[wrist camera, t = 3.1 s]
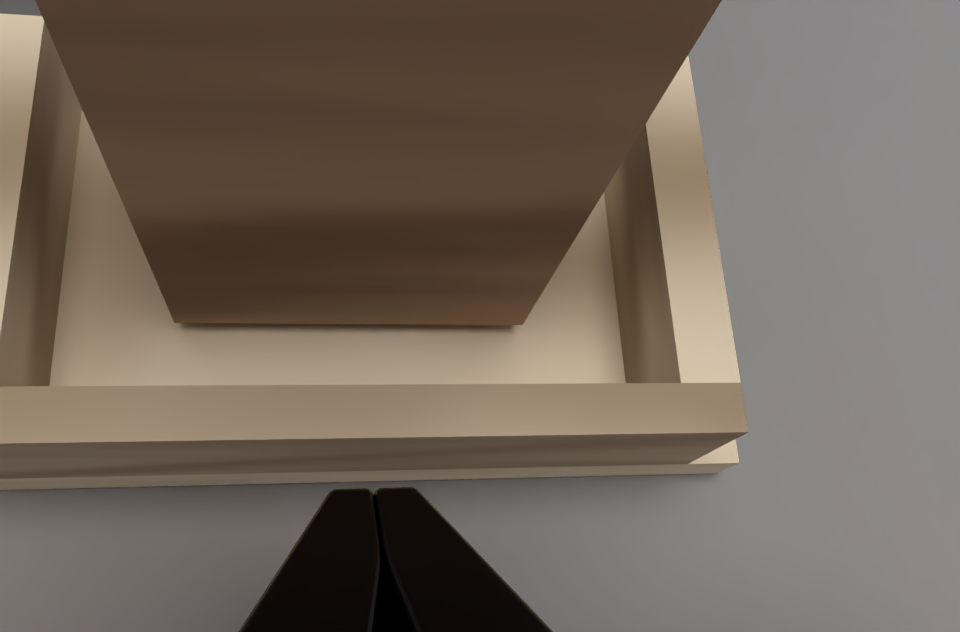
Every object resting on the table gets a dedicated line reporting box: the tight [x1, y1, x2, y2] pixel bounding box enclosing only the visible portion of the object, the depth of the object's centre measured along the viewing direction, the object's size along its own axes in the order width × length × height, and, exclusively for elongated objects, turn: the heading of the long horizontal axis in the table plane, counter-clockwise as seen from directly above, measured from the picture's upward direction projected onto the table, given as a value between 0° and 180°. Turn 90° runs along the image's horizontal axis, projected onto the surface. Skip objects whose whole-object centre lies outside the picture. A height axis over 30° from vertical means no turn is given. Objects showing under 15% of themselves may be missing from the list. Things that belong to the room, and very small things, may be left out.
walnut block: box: [35, 0, 721, 325], centre depth 12 cm, size 5×6×9 cm
